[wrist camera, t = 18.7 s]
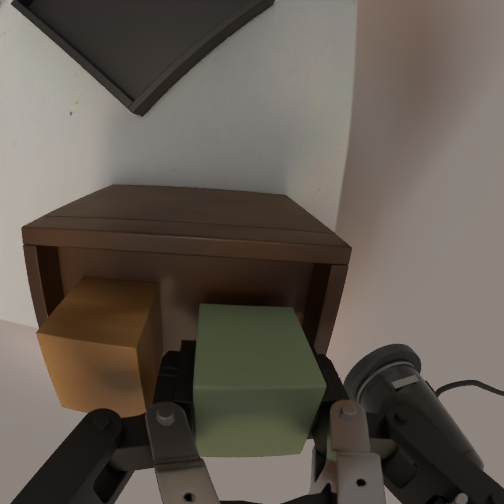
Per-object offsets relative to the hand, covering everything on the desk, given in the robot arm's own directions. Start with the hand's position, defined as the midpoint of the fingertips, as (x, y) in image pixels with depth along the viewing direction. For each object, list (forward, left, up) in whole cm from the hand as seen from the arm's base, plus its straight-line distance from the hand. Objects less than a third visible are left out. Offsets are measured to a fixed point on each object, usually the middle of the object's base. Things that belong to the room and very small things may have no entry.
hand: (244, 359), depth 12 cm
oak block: (+5, +4, -3) cm, 7 cm away
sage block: (0, 0, -1) cm, 1 cm away
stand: (+2, +2, -14) cm, 14 cm away
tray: (+22, -10, -14) cm, 28 cm away
